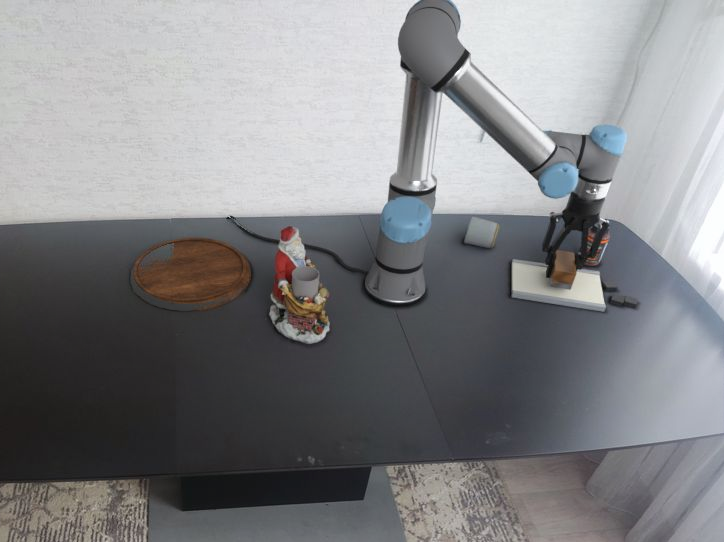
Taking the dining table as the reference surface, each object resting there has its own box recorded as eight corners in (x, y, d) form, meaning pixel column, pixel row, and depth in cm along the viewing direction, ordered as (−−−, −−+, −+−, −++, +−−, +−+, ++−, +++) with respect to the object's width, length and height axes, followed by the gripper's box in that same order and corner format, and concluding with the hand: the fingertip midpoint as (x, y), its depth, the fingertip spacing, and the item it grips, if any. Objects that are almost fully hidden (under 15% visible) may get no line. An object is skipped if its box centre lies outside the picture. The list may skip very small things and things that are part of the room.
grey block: (609, 303, 165) (611, 299, 164) (611, 297, 167) (613, 293, 166) (621, 306, 164) (623, 302, 163) (623, 301, 166) (625, 297, 165)
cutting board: (121, 254, 183) (119, 246, 181) (231, 235, 190) (231, 227, 188) (142, 322, 160) (140, 313, 158) (267, 297, 167) (267, 289, 165)
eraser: (549, 286, 166) (555, 270, 162) (547, 265, 173) (553, 249, 170) (570, 290, 165) (576, 273, 161) (568, 268, 172) (573, 252, 169)
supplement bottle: (575, 264, 178) (589, 227, 171) (576, 253, 183) (589, 217, 175) (599, 269, 177) (613, 232, 169) (599, 257, 181) (613, 221, 173)
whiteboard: (511, 297, 167) (512, 292, 166) (511, 263, 179) (512, 258, 178) (604, 311, 162) (606, 307, 161) (597, 275, 174) (599, 271, 173)
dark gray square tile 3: (622, 304, 164) (624, 300, 164) (624, 299, 166) (626, 295, 166) (634, 308, 163) (636, 304, 163) (636, 302, 165) (638, 298, 164)
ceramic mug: (492, 253, 182) (498, 229, 177) (462, 247, 185) (467, 223, 180) (496, 236, 190) (503, 212, 185) (467, 230, 192) (473, 206, 187)
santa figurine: (336, 344, 153) (344, 252, 137) (276, 349, 152) (278, 257, 135) (321, 301, 166) (327, 213, 149) (266, 306, 164) (266, 217, 148)
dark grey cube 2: (605, 291, 169) (606, 287, 168) (600, 284, 171) (602, 281, 170) (615, 291, 169) (617, 287, 168) (611, 284, 171) (613, 281, 170)
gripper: (548, 196, 153) (522, 279, 168) (632, 206, 149) (598, 290, 164) (547, 182, 158) (522, 263, 173) (628, 191, 154) (595, 274, 169)
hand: (559, 276), depth 169 cm, fingers closed on eraser, 5 cm apart
